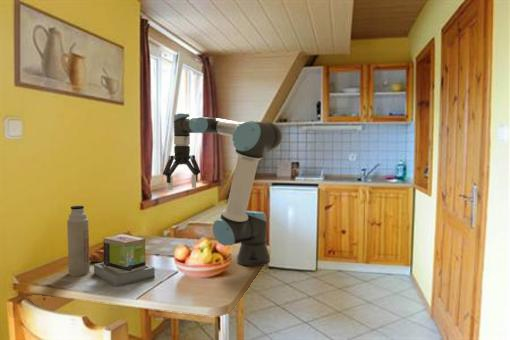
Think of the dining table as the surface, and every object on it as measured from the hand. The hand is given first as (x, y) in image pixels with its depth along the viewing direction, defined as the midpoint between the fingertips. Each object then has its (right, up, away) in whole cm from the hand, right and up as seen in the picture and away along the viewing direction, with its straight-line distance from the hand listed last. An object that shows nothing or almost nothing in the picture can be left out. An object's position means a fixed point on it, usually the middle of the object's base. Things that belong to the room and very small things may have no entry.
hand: (182, 188), depth 194 cm
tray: (-18, -34, -33) cm, 50 cm away
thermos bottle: (-38, -34, -29) cm, 59 cm away
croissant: (-32, -33, -9) cm, 47 cm away
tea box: (-18, -33, -32) cm, 50 cm away
